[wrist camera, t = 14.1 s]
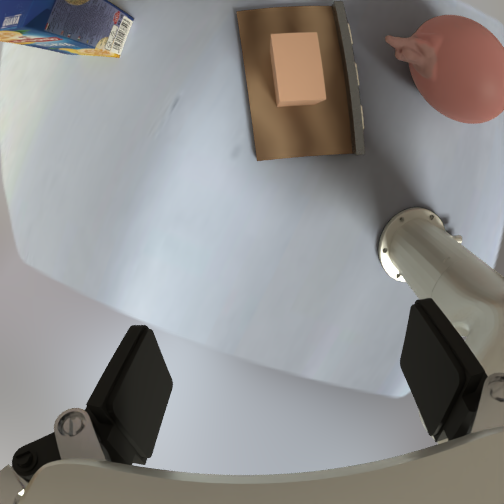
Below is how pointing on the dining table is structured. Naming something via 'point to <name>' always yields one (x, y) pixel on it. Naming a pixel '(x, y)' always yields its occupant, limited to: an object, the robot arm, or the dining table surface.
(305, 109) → the shelf board
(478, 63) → the balloon
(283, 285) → the dining table surface
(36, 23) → the beverage box
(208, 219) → the dining table surface
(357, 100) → the rail
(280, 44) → the carton
